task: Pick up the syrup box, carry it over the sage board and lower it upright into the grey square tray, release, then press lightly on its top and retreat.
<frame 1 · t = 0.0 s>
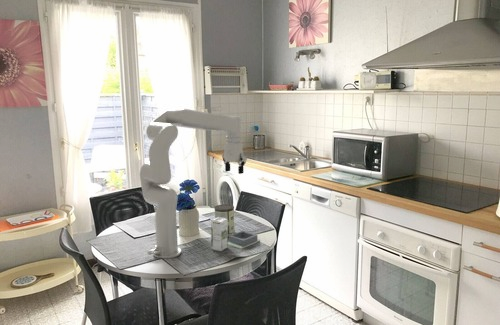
hand: (234, 172, 218), 31 cm above the table, tool pointing down, fingers open, 9 cm apart
coffee can: (224, 233, 218), on the table
grey square tray: (243, 238, 203), on the board, point 2 cm above the table
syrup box: (219, 249, 196), on the table
board: (243, 242, 203), on the table
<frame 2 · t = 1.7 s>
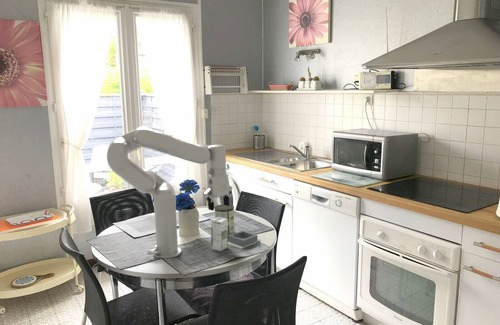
hand: (218, 207, 193), 20 cm above the table, tool pointing down, fingers open, 9 cm apart
nothing on the table moved.
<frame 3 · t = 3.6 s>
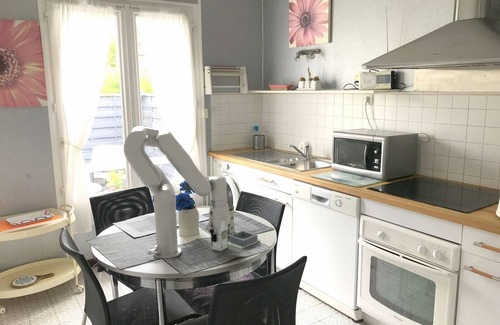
hand: (219, 239, 195), 5 cm above the table, tool pointing down, fingers closed on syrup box, 6 cm apart
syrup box: (219, 249, 196), on the table, touching gripper
everything else where it was.
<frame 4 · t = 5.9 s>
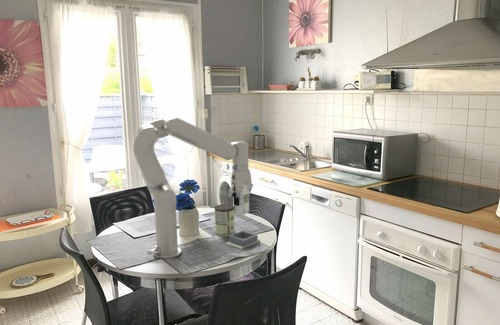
hand: (241, 203, 200), 20 cm above the table, tool pointing down, fingers closed on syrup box, 6 cm apart
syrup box: (241, 213, 200), point 15 cm above the table, touching gripper
everything else where it was.
when the fingers open (6 cm above the table, at t = 8.4 s): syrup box moves 1 cm, resting on board.
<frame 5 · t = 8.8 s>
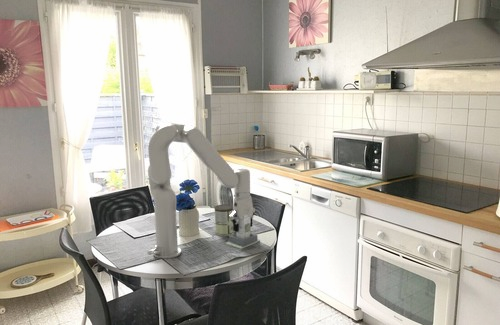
hand: (243, 228, 202), 7 cm above the table, tool pointing down, fingers open, 9 cm apart
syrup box: (242, 241, 203), resting on board
everything else where it was.
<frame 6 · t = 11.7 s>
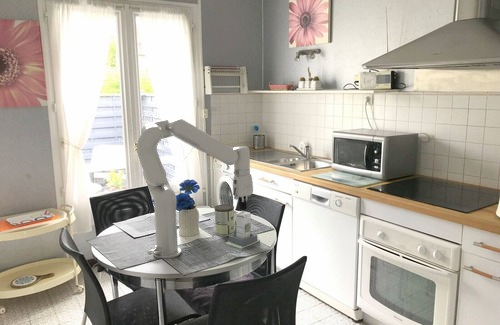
hand: (243, 209, 201), 17 cm above the table, tool pointing down, fingers closed
nothing on the table moved.
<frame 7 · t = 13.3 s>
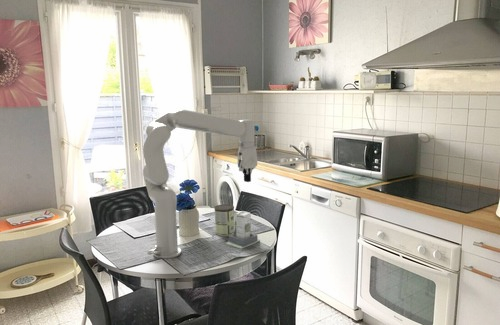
hand: (247, 181, 205), 29 cm above the table, tool pointing down, fingers closed
nothing on the table moved.
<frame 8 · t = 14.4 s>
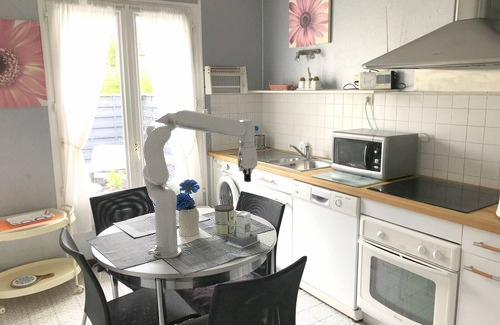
hand: (247, 181, 206), 29 cm above the table, tool pointing down, fingers closed
nothing on the table moved.
at the end: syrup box 0.1 cm off-centre on the grey square tray, point 0.4 cm above the grey square tray's base; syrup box tilted 0°; the gripper is holding nothing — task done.
